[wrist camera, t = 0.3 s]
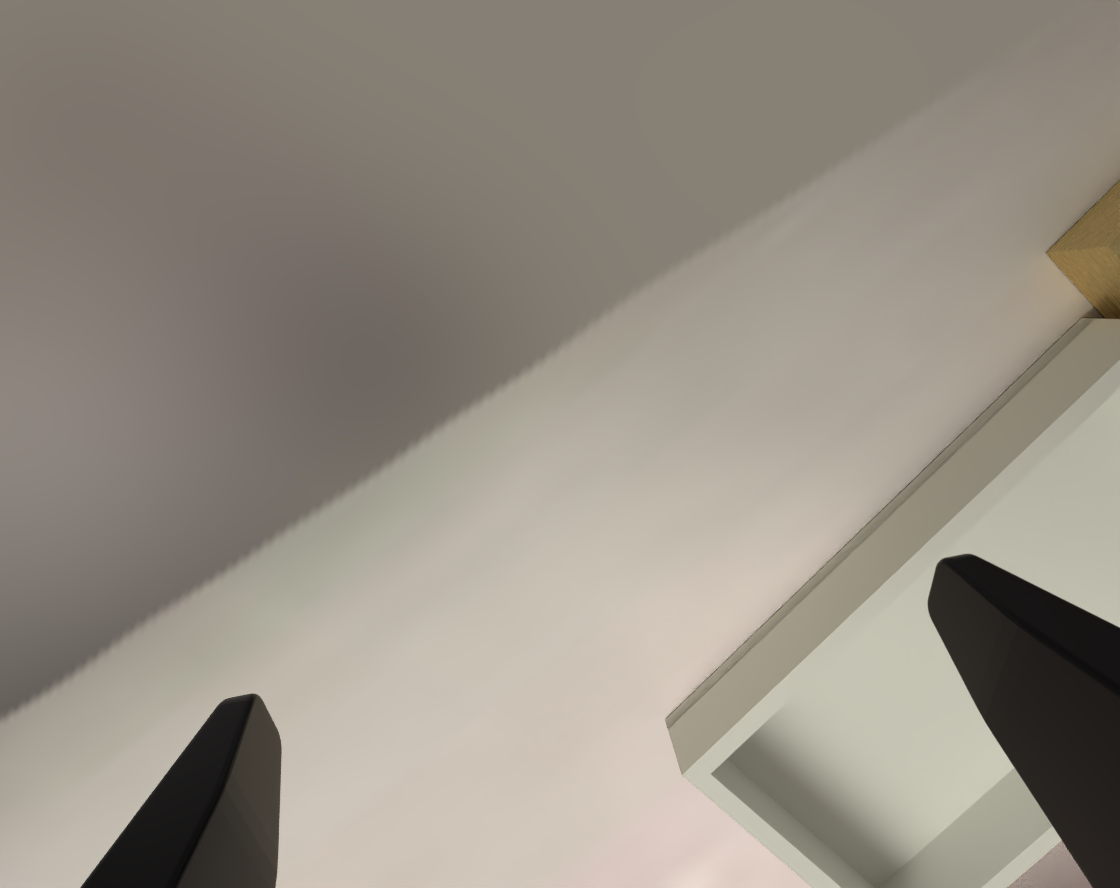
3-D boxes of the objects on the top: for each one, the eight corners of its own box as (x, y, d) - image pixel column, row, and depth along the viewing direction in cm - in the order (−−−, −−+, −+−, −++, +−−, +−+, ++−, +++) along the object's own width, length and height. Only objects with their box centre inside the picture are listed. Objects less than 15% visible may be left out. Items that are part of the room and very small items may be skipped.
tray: (1276, 535, 24) (1378, 567, 21) (868, 897, 26) (909, 971, 23) (1081, 318, 23) (1161, 320, 20) (664, 719, 25) (681, 775, 22)
